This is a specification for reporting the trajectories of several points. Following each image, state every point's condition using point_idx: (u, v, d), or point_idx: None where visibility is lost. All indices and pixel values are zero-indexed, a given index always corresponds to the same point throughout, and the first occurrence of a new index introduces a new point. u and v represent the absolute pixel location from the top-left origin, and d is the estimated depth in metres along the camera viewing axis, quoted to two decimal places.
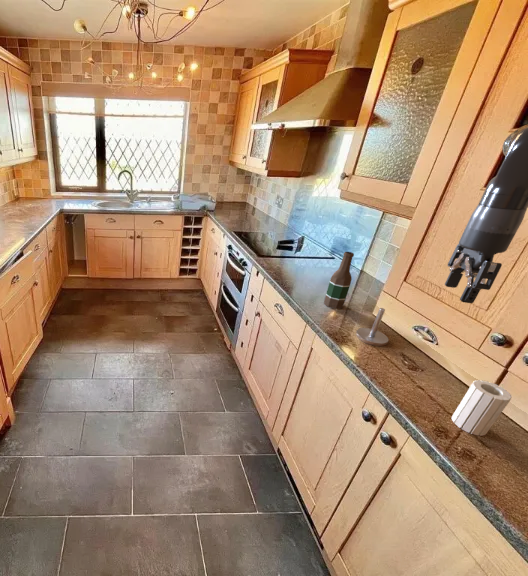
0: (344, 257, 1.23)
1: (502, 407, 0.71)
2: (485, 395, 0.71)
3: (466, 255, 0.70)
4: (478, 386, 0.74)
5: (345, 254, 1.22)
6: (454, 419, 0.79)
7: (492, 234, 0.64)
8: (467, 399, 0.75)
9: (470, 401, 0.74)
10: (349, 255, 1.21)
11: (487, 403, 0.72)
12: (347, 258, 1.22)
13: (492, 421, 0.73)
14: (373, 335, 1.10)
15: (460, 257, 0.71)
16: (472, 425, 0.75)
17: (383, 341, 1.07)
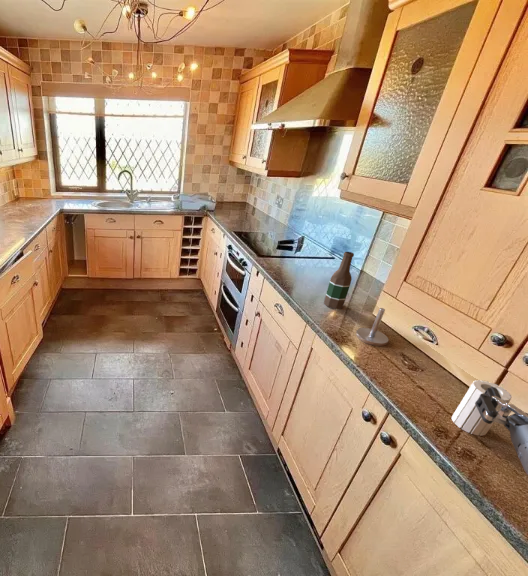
0: (344, 257, 1.23)
1: None
2: None
3: None
4: (478, 386, 0.74)
5: (345, 254, 1.22)
6: (454, 419, 0.79)
7: None
8: (467, 399, 0.75)
9: (470, 401, 0.74)
10: (349, 255, 1.21)
11: None
12: (347, 258, 1.22)
13: None
14: (373, 335, 1.10)
15: None
16: (472, 425, 0.75)
17: (383, 341, 1.07)
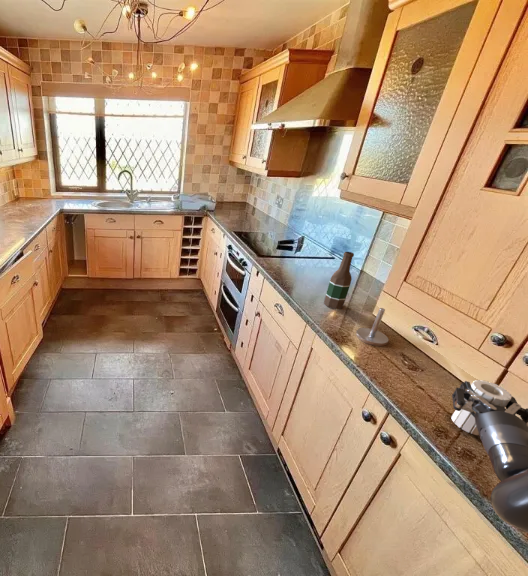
0: (344, 257, 1.23)
1: None
2: (485, 395, 0.71)
3: None
4: (478, 386, 0.74)
5: (345, 254, 1.22)
6: (453, 418, 0.79)
7: None
8: None
9: None
10: (349, 255, 1.21)
11: None
12: (347, 258, 1.22)
13: None
14: (373, 335, 1.10)
15: None
16: (472, 425, 0.75)
17: (383, 341, 1.07)
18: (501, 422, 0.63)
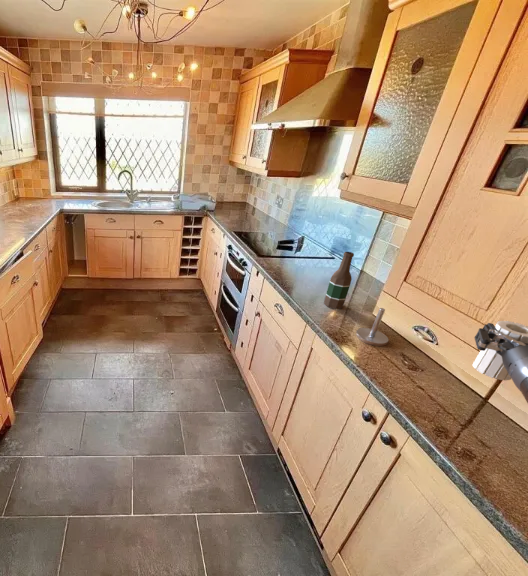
0: (344, 257, 1.23)
1: None
2: (511, 333, 0.66)
3: None
4: (503, 326, 0.68)
5: (345, 254, 1.22)
6: (475, 365, 0.73)
7: None
8: None
9: None
10: (349, 255, 1.21)
11: None
12: (347, 258, 1.22)
13: None
14: (373, 335, 1.10)
15: None
16: (496, 369, 0.70)
17: (383, 341, 1.07)
18: None
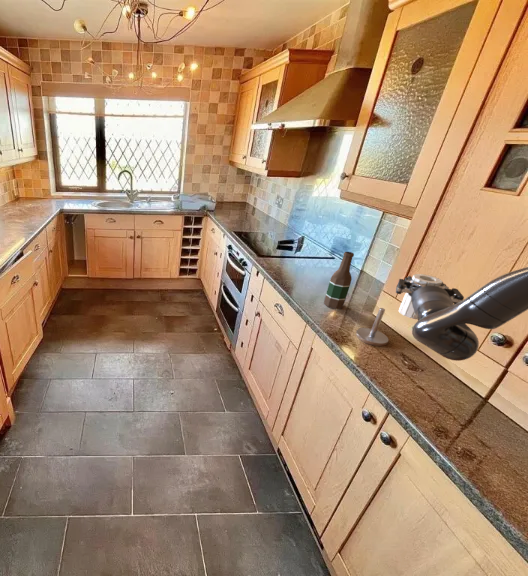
0: (344, 257, 1.23)
1: None
2: (421, 281, 0.87)
3: None
4: (417, 277, 0.89)
5: (345, 254, 1.22)
6: (400, 310, 0.94)
7: None
8: None
9: None
10: (349, 255, 1.21)
11: None
12: (347, 258, 1.22)
13: None
14: (373, 335, 1.10)
15: None
16: (413, 310, 0.91)
17: (383, 341, 1.07)
18: (427, 291, 0.79)
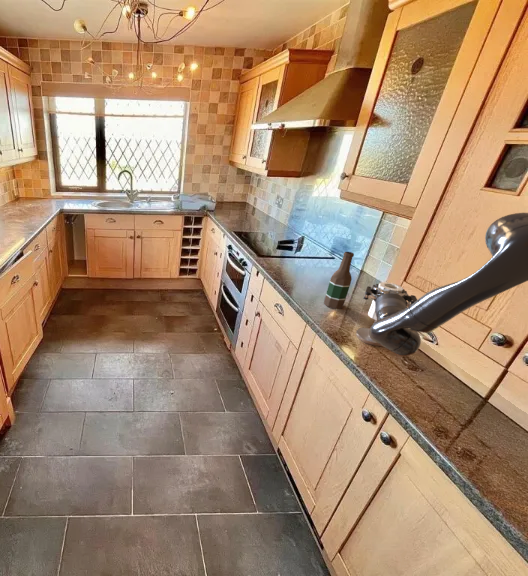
0: (344, 257, 1.23)
1: None
2: (385, 289, 1.01)
3: None
4: (382, 284, 1.03)
5: (345, 254, 1.22)
6: (369, 313, 1.08)
7: None
8: None
9: None
10: (349, 255, 1.21)
11: None
12: (347, 258, 1.22)
13: None
14: None
15: None
16: None
17: None
18: (387, 297, 0.92)
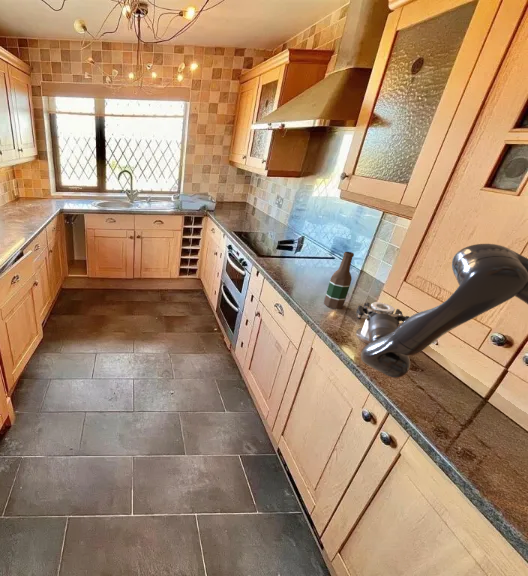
0: (344, 257, 1.23)
1: None
2: (377, 309, 1.04)
3: None
4: (374, 305, 1.06)
5: (345, 254, 1.22)
6: (362, 331, 1.11)
7: None
8: None
9: None
10: (349, 255, 1.21)
11: None
12: (347, 258, 1.22)
13: None
14: None
15: None
16: None
17: None
18: (379, 318, 0.95)
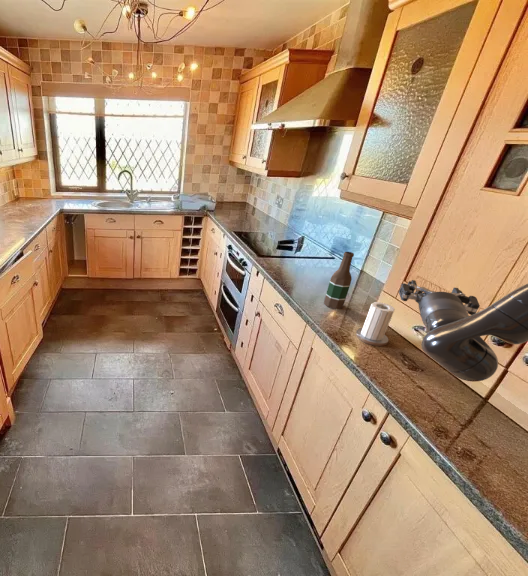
0: (344, 257, 1.23)
1: (388, 317, 1.04)
2: (377, 309, 1.04)
3: None
4: (374, 305, 1.06)
5: (345, 254, 1.22)
6: (362, 331, 1.11)
7: None
8: (368, 315, 1.08)
9: (369, 316, 1.07)
10: (349, 255, 1.21)
11: (378, 315, 1.04)
12: (347, 258, 1.22)
13: (383, 328, 1.06)
14: None
15: None
16: (371, 333, 1.08)
17: (383, 341, 1.07)
18: (437, 297, 0.69)
